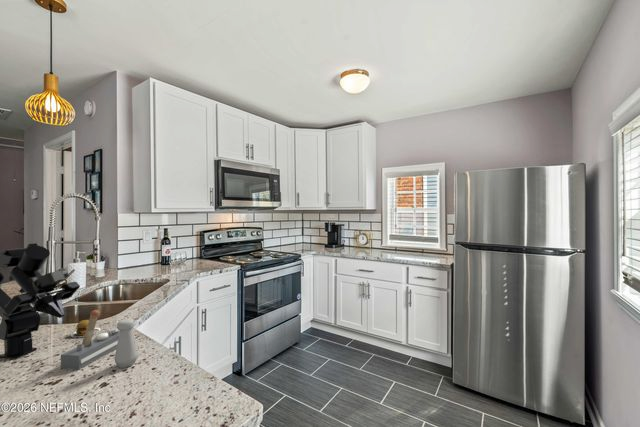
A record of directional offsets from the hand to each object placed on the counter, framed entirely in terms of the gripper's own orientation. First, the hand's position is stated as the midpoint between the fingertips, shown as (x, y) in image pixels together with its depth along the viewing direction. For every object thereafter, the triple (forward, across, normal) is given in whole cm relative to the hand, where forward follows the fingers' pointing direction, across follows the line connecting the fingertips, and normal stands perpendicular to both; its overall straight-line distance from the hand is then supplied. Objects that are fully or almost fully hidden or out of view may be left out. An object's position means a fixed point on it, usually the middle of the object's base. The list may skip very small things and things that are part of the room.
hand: (62, 316), depth 94 cm
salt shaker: (+26, -2, -7) cm, 26 cm away
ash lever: (+12, 0, 0) cm, 12 cm away
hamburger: (+2, +18, +18) cm, 26 cm away
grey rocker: (+12, +10, 0) cm, 15 cm away
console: (+15, +3, +3) cm, 16 cm away
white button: (+12, +6, 0) cm, 13 cm away
